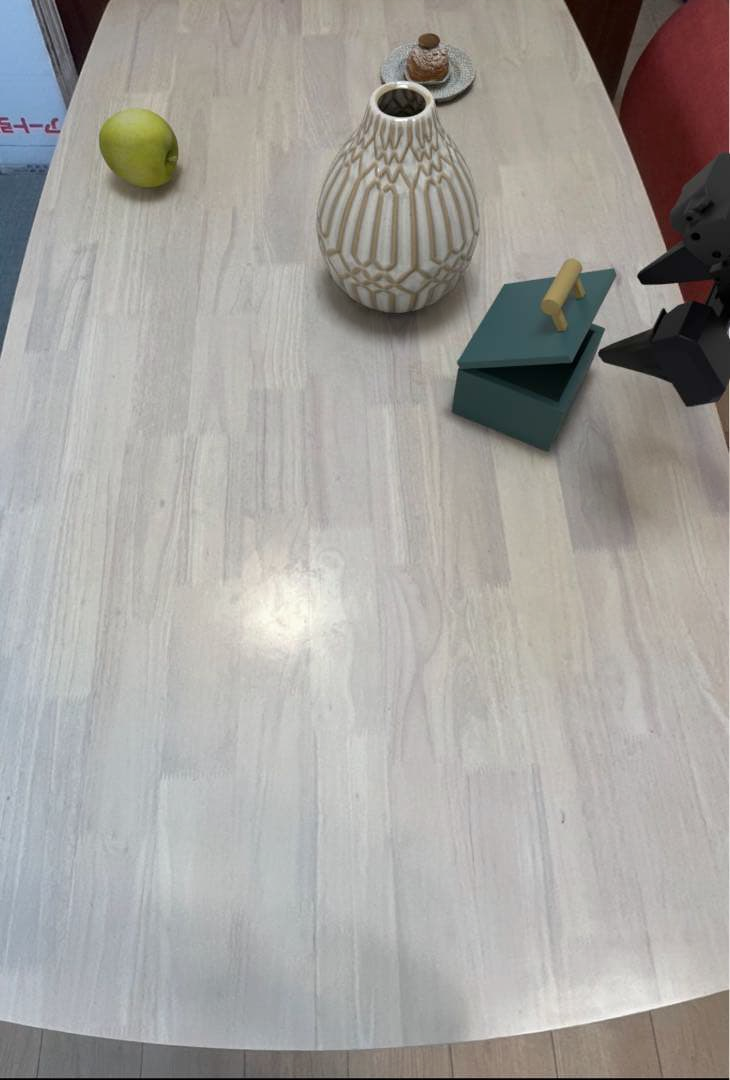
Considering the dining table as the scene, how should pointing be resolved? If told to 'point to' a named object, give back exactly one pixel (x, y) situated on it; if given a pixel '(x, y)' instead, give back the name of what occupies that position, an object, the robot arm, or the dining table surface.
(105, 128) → the apple
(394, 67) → the pastry
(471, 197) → the vase
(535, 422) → the teal open box
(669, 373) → the robot arm
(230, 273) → the dining table surface
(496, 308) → the box lid
